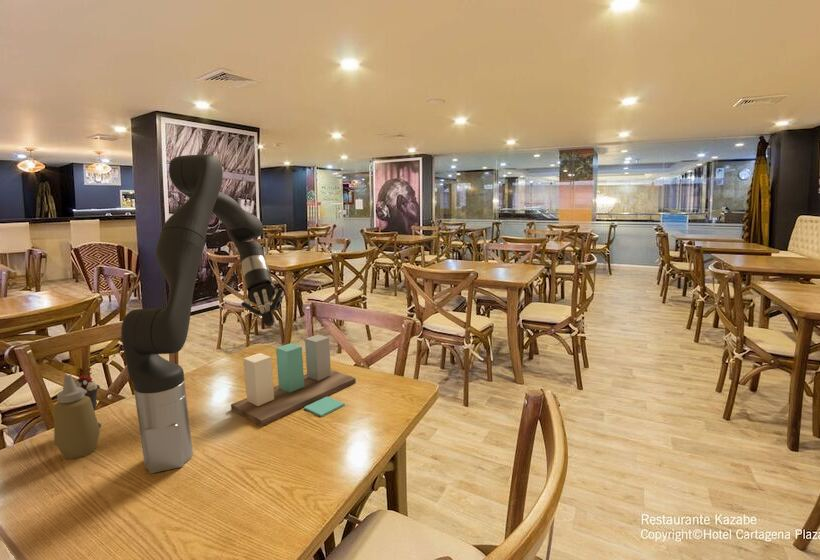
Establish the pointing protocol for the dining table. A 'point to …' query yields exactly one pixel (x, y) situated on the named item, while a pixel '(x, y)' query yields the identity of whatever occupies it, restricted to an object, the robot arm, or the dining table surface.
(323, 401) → the pad
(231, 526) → the dining table surface
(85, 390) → the sundae
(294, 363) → the tall teal pillar
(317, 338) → the tall grey rectangular prism
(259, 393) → the cream tall rectangular block
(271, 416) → the dark wooden board
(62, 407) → the squeeze bottle
